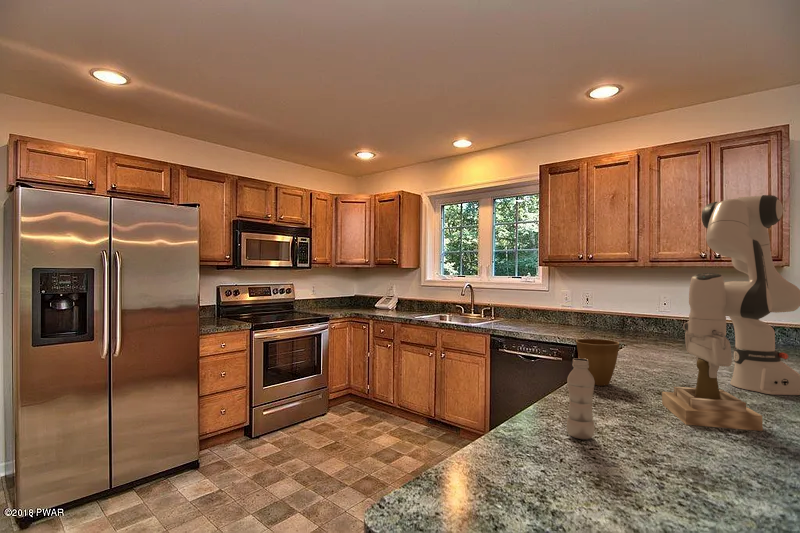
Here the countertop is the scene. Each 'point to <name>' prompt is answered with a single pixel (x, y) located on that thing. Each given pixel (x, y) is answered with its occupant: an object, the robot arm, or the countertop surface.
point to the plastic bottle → (580, 400)
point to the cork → (706, 382)
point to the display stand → (711, 410)
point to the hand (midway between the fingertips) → (707, 375)
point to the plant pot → (599, 358)
